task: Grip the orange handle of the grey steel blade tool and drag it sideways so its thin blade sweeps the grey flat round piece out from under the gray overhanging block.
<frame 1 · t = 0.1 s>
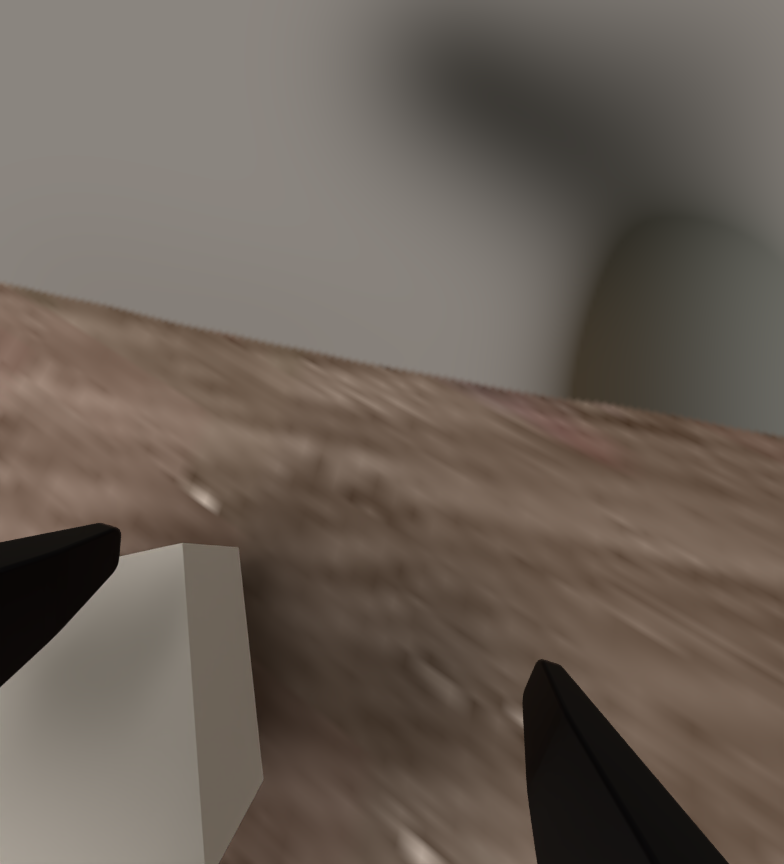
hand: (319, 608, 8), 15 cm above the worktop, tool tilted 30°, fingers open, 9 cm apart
gray overhanging block: (109, 675, 21), on the worktop
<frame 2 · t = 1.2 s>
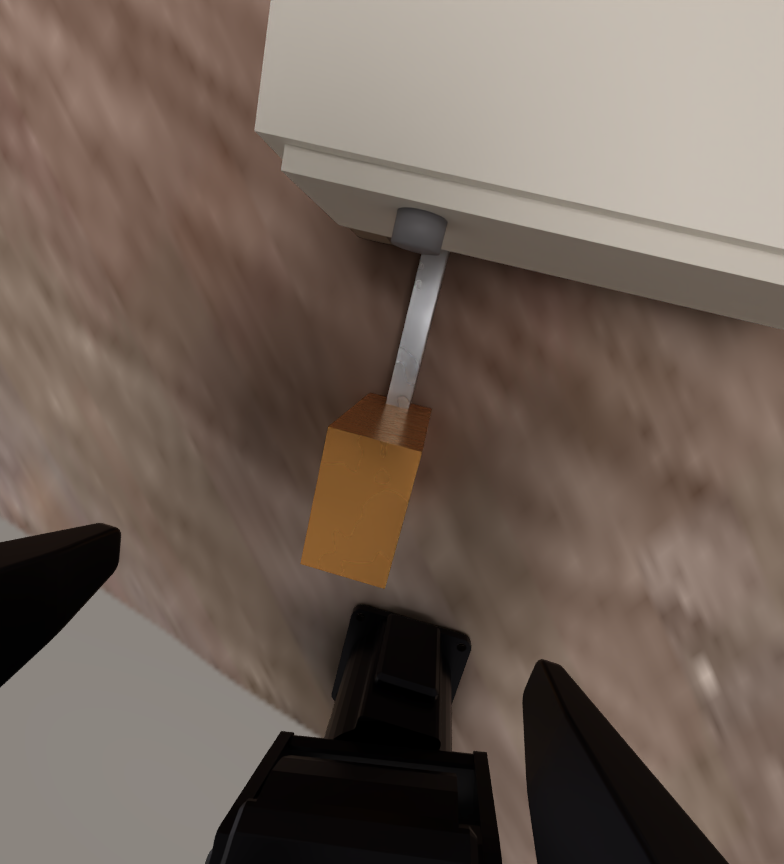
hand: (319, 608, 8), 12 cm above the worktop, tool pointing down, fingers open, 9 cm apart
blade tool: (388, 449, 20), on the worktop
gray overhanging block: (591, 164, 16), on the worktop
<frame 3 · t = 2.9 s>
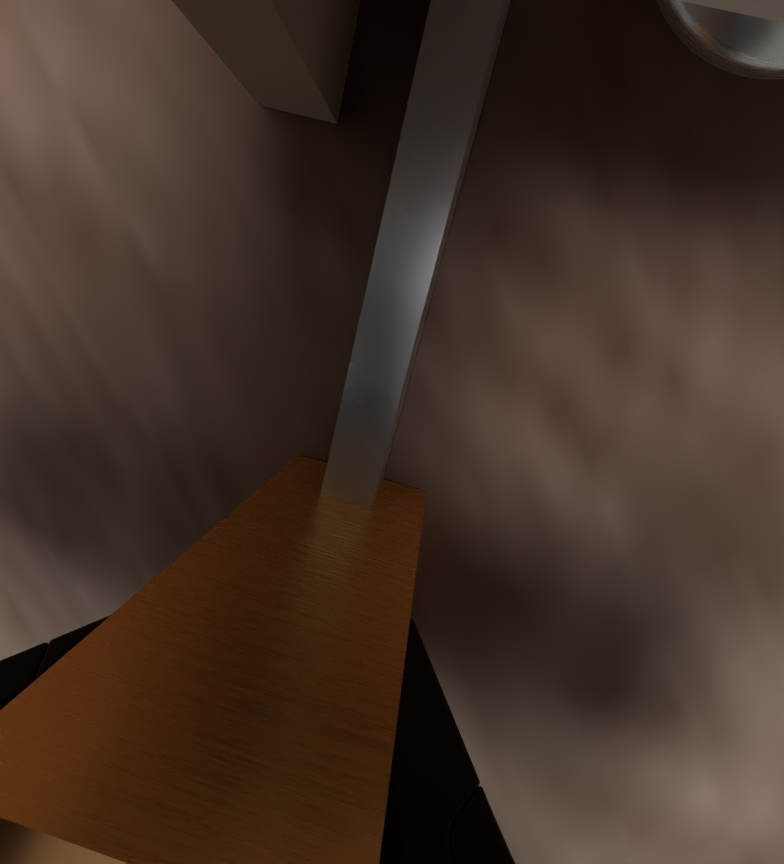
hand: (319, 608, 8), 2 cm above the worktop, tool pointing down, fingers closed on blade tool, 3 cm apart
blade tool: (338, 566, 10), on the worktop, touching gripper
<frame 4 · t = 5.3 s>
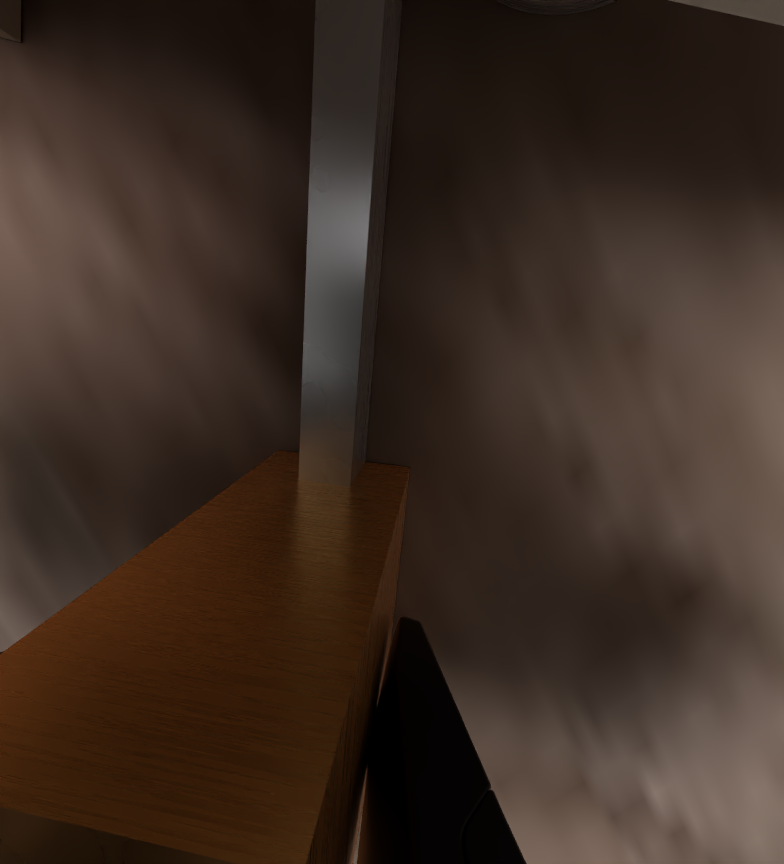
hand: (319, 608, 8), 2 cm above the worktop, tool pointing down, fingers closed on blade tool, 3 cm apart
blade tool: (336, 557, 10), on the worktop, touching gripper, grey flat round piece
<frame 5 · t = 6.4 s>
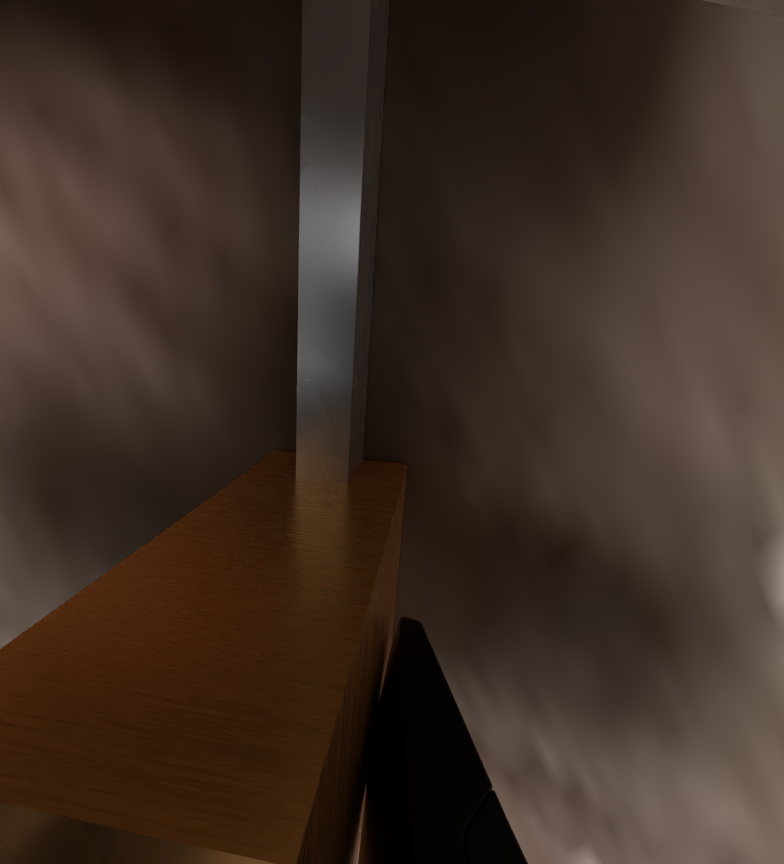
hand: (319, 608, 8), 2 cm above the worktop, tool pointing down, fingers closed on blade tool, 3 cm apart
blade tool: (336, 556, 10), on the worktop, touching gripper
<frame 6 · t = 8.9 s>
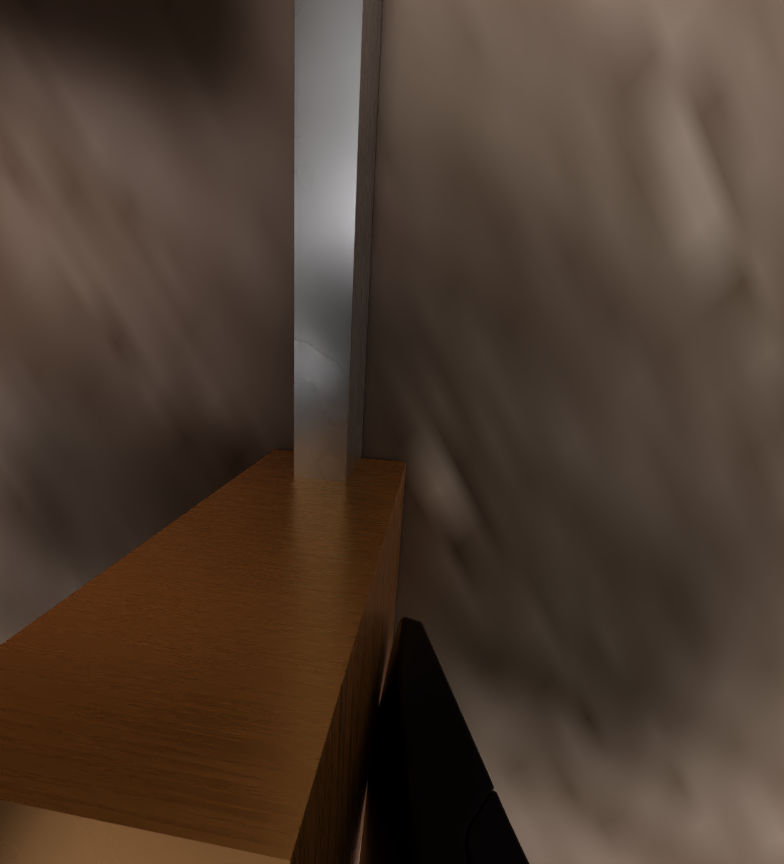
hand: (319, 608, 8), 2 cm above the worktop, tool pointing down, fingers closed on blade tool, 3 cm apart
blade tool: (336, 555, 10), on the worktop, touching gripper, grey flat round piece
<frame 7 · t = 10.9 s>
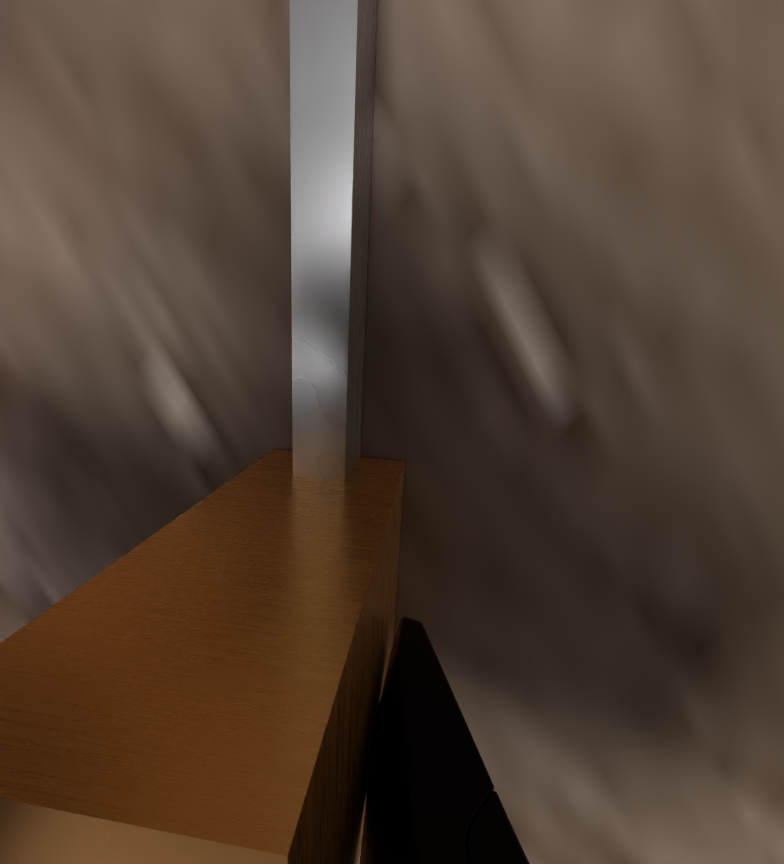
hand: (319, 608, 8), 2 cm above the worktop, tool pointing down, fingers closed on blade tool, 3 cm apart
blade tool: (336, 554, 10), on the worktop, touching gripper
when the fingers open (1 cm above the worktop, at t = 11.2 s): blade tool stays where it is, on the worktop.
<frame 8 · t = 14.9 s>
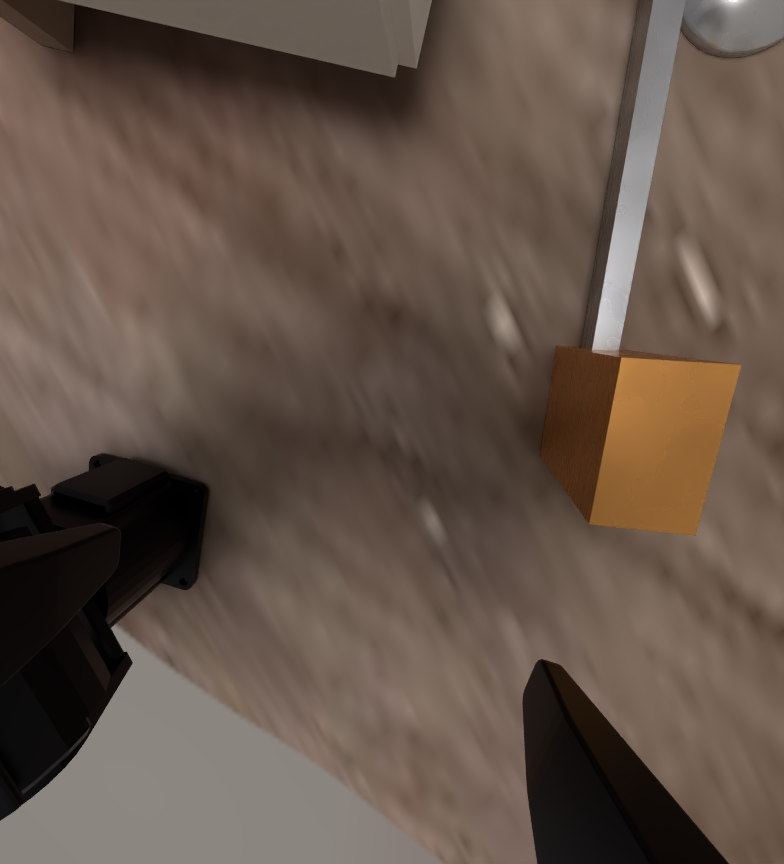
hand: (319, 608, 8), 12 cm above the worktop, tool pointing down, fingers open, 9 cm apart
blade tool: (582, 405, 18), on the worktop
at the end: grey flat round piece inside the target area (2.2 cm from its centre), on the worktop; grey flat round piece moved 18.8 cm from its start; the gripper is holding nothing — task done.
